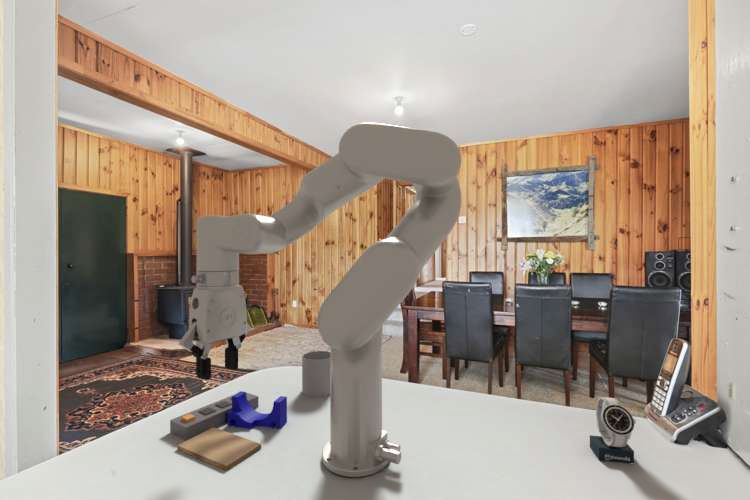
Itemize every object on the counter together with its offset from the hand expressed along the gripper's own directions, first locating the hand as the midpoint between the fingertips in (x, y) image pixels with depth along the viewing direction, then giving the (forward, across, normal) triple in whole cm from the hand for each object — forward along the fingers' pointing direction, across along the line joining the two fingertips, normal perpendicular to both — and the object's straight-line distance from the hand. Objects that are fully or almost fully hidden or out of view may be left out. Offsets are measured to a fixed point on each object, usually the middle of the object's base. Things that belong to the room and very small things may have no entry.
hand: (218, 372), depth 69 cm
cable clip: (+15, +11, +1) cm, 19 cm away
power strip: (+15, +8, +11) cm, 20 cm away
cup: (+15, +31, 0) cm, 35 cm away
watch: (+15, +31, -66) cm, 75 cm away
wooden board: (+15, 0, 0) cm, 15 cm away
